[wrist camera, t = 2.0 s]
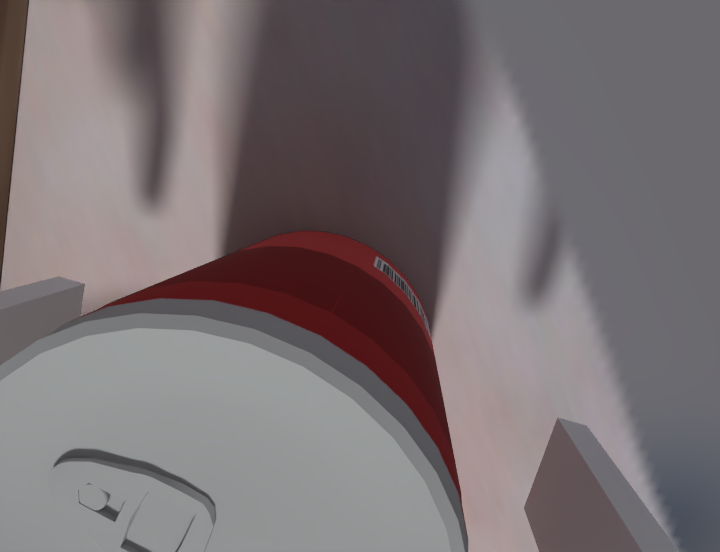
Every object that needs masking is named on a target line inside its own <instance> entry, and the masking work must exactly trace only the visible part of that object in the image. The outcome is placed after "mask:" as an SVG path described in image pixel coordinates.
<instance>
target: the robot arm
mask: <svg viewBox="0 0 720 552" xmlns="http://www.w3.org/2000/svg"><path fill="white" fill-rule="evenodd" d="M84 285H85V284H83V283H80V282H76V281H73V280H69V279H66V278H62V277H55V278H51V279H47V280H43V281H39V282H36V283H32V284H28V285H24V286H20V287H16V288H13V289H9V290H5V291H1V292H0V365H2V364H3V363H5V362H6V361H8V360H9V359H11V358H12V357H14V356H15V355H17V354H18V353H19V352H21V351H22V350H24V349H25V348H27V347H28V346H30V345H31V344H33V343H34V342H36V341H37V340H39V339H41V338H44V337H45V336H47V335H48V334H50V333H51V332H52V331H54V330H55V329H57V328H58V327H60V326H61V325H63V324H65V323H67V322H69V321H72V320H74V319H76V318H79V317H80V314H81V307H82V299H83V292H84ZM524 509H525V512H526V515H527V518H528V521H529V524H530V526H531V529H532V532H533V535H534V538H535V541H536V543H537V546H538V549H539V552H679V551H678V550H677V548H676V547H675V546H674V544H673V543H672V542H671V540H670V539H669V537H668V536H667V535H666V533H665V532H664V531H663V529H662V528H661V526H660V525H659V524H658V522H657V521H656V520H655V518H654V517H653V516H652V514H651V513H650V511H649V510H648V509H647V507H646V506H645V505H644V503H643V502H642V500H641V499H640V498H639V496H638V495H637V494H636V492H635V491H634V490H633V488H632V487H631V485H630V484H629V483H628V481H627V480H626V479H625V477H624V476H623V475H622V473H621V472H620V470H619V469H618V468H617V466H616V465H615V464H614V462H613V461H612V459H611V458H610V457H609V455H608V454H607V453H606V451H605V450H604V449H603V447H602V446H601V444H600V443H599V442H598V440H597V439H596V438H595V436H594V435H593V433H592V432H591V431H590V429H589V428H588V427H587V426H586V425H582V424H579V423H575V422H572V421H568V420H565V419H561V418H557V421H556V423H555V426H554V429H553V432H552V434H551V437H550V440H549V442H548V445H547V448H546V450H545V453H544V456H543V458H542V461H541V464H540V466H539V469H538V472H537V474H536V477H535V480H534V483H533V485H532V488H531V491H530V493H529V496H528V499H527V501H526V504H525V507H524Z"/></svg>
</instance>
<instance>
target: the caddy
mask: <svg viewBox="0 0 720 552" xmlns="http://www.w3.org/2000/svg"><path fill="white" fill-rule="evenodd" d="M27 7H28V0H0V278H1V268H2V258H3V248H4V237H5V227H6V217H7V207H8V197H9V187H10V177H11V167H12V157H13V147H14V137H15V127H16V117H17V107H18V97H19V87H20V77H21V67H22V57H23V47H24V37H25V27H26V17H27Z"/></svg>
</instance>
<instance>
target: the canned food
mask: <svg viewBox="0 0 720 552" xmlns="http://www.w3.org/2000/svg"><path fill="white" fill-rule="evenodd" d="M0 552H468V536H467V531H466V525H465V520H464V514H463V509H462V500H461V490H460V485H459V480H458V475H457V469H456V464H455V459H454V454H453V449H452V443H451V438H450V433H449V428H448V423H447V418H446V412H445V407H444V402H443V397H442V392H441V386H440V381H439V376H438V371H437V366H436V361H435V355H434V350H433V345H432V340H431V335H430V330H429V325H428V320H427V315H426V313H425V311H424V308H423V306H422V304H421V301H420V299H419V297H418V295H417V293H416V292H415V290H414V289H413V287H412V286H411V284H410V283H409V282H408V280H407V279H406V277H405V276H404V275H403V274H402V273H401V272H400V271H399V270H398V269H397V268H396V267H395V266H394V265H393V264H392V263H391V262H390V261H389V260H388V259H387V258H385V257H384V256H382V255H381V254H379V253H378V252H376V251H375V250H373V249H372V248H370V247H369V246H367V245H364V244H362V243H360V242H357V241H355V240H353V239H350V238H348V237H345V236H340V235H336V234H331V233H327V232H316V231H298V232H292V233H286V234H280V235H276V236H274V237H271V238H269V239H266V240H263V241H261V242H258V243H256V244H253V245H251V246H248V247H246V248H244V249H241V250H239V251H236V252H234V253H231V254H229V255H226V256H224V257H221V258H219V259H217V260H214V261H212V262H209V263H207V264H204V265H202V266H199V267H197V268H194V269H192V270H190V271H187V272H185V273H182V274H180V275H177V276H175V277H172V278H170V279H167V280H165V281H163V282H160V283H158V284H155V285H153V286H150V287H148V288H145V289H143V290H140V291H138V292H136V293H133V294H131V295H128V296H126V297H123V298H121V299H118V300H116V301H113V302H111V303H109V304H107V305H105V306H103V307H101V308H99V309H98V310H95V311H93V312H91V313H88V314H86V315H84V316H81V317H79V318H76V319H74V320H72V321H69V322H67V323H65V324H63V325H61V326H60V327H58V328H57V329H55V330H54V331H52V332H51V333H50V334H48V335H47V336H45V337H44V338H41V339H39V340H37V341H36V342H34V343H33V344H31V345H30V346H28V347H27V348H25V349H24V350H22V351H21V352H19V353H18V354H17V355H15V356H14V357H12V358H11V359H9V360H8V361H6V362H5V363H3V364H2V365H0Z"/></svg>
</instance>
